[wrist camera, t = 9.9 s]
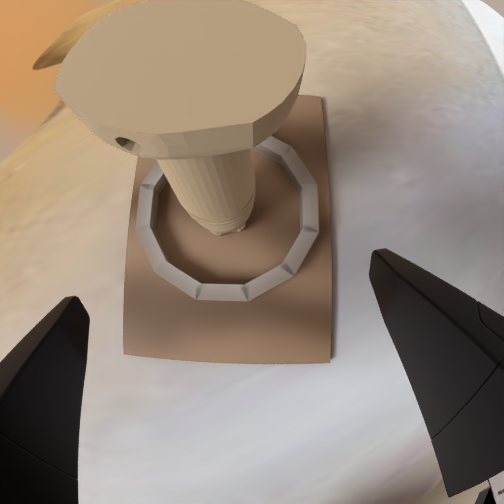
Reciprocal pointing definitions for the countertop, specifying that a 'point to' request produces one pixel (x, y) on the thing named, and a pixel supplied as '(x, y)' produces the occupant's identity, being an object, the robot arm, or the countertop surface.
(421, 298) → the robot arm
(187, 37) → the handle
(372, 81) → the countertop surface
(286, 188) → the socket board
